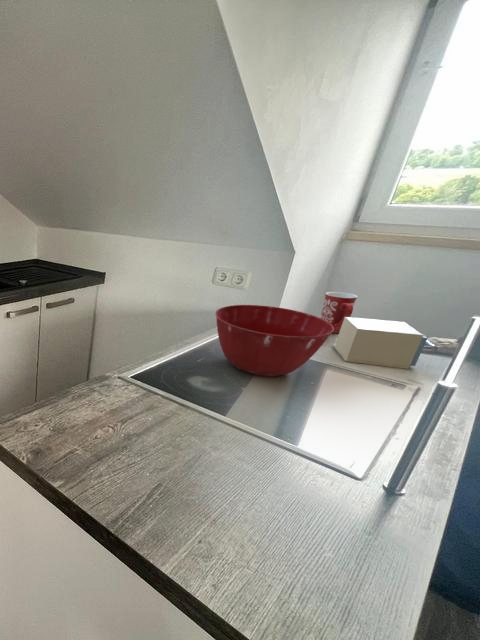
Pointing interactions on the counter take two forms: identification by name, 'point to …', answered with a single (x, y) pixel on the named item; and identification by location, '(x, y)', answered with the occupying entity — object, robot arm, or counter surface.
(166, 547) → the counter surface
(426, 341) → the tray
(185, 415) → the counter surface
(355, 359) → the beige rectangular block
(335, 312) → the mug
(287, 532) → the counter surface
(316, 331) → the mixing bowl
